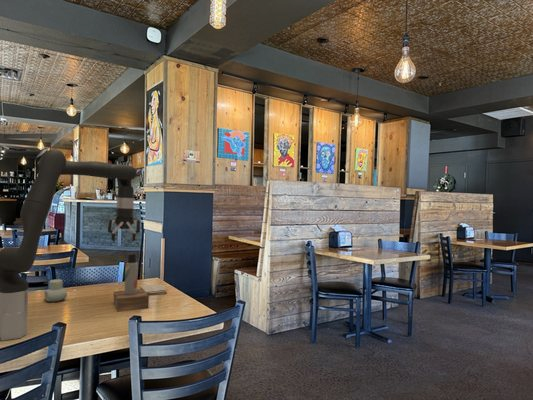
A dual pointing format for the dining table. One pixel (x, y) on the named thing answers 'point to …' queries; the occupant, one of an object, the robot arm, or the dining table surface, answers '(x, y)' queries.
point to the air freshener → (55, 291)
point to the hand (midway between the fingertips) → (123, 241)
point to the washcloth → (154, 289)
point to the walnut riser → (130, 301)
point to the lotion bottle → (131, 275)
